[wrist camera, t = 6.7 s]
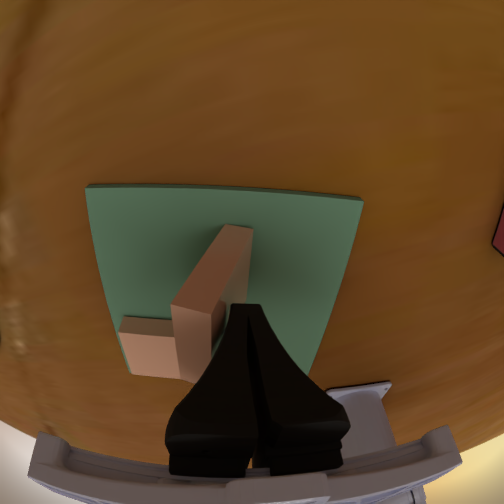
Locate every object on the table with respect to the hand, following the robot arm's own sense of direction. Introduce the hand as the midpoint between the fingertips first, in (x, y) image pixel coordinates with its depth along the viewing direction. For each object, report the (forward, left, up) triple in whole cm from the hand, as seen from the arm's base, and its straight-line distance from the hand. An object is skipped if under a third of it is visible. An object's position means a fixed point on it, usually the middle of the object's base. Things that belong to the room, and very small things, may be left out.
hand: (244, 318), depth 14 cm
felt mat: (-4, +1, -5) cm, 7 cm away
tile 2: (0, 0, -5) cm, 5 cm away
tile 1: (-8, +1, -4) cm, 9 cm away
